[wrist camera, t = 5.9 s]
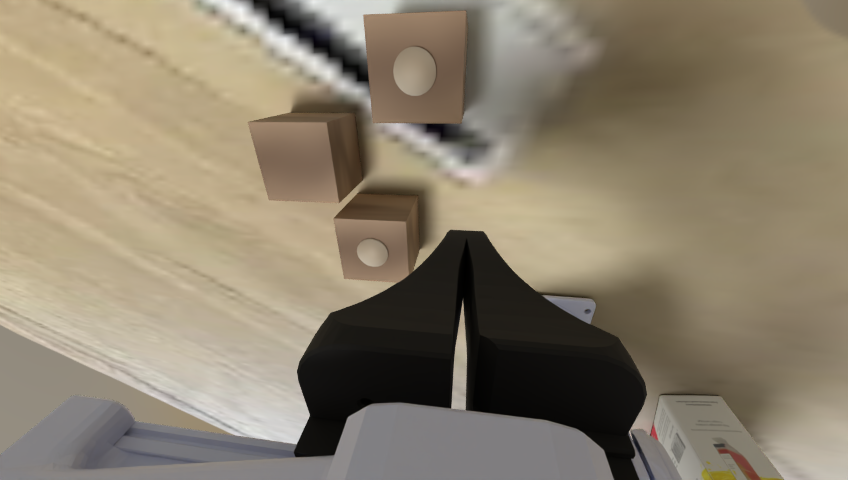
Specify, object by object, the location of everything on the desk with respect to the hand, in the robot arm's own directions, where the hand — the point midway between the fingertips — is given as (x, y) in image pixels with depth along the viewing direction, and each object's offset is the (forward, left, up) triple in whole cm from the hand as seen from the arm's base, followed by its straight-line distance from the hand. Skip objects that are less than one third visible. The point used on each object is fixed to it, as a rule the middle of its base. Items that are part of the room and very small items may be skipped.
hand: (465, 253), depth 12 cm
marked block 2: (-4, +6, -11) cm, 13 cm away
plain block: (+2, +10, -11) cm, 14 cm away
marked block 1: (+6, +3, -11) cm, 13 cm away
